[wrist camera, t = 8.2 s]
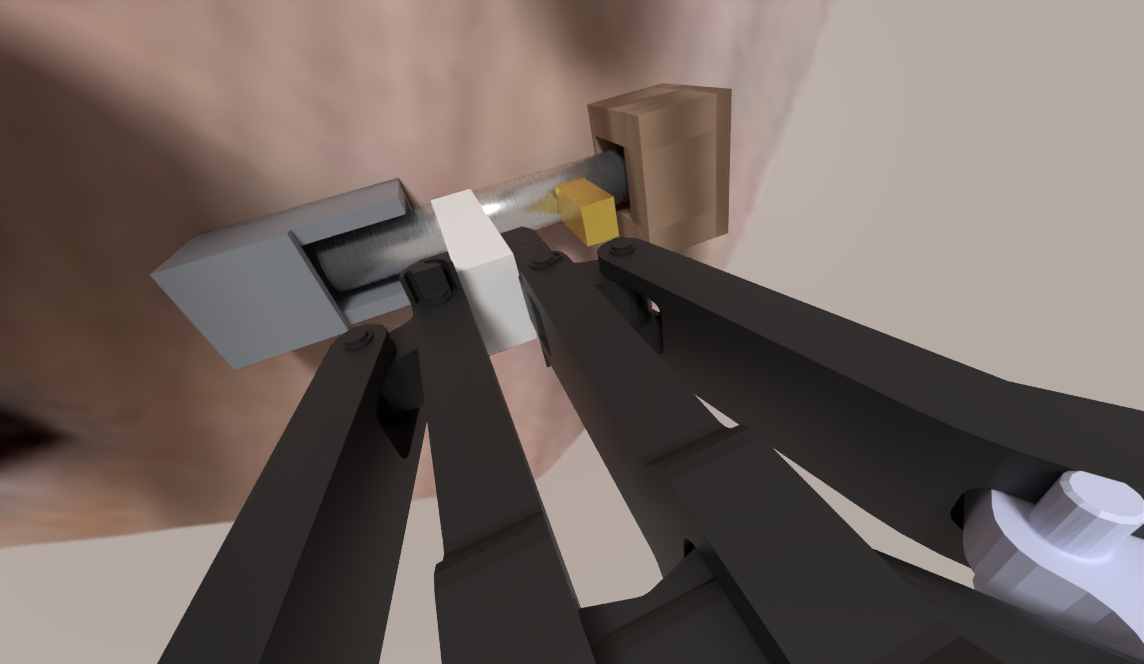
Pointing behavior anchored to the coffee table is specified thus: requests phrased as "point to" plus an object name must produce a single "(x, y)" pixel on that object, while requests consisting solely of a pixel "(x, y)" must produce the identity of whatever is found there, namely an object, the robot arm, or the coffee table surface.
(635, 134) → the socket
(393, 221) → the tube
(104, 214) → the coffee table surface
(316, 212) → the sleeve
